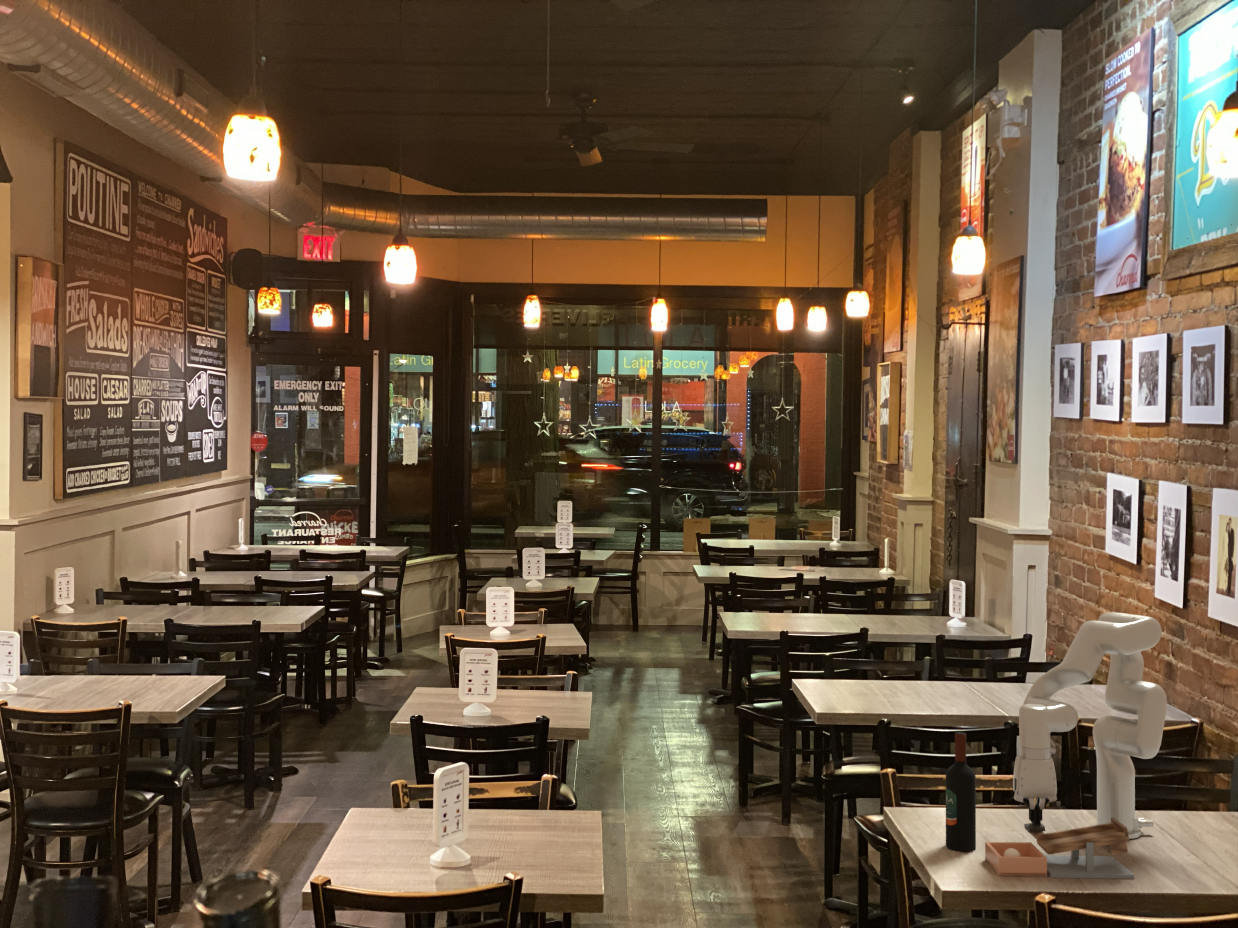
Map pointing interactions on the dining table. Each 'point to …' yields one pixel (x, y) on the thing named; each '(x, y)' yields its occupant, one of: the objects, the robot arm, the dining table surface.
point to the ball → (1011, 853)
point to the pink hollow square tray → (1016, 859)
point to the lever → (1082, 837)
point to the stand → (1086, 866)
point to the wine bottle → (960, 801)
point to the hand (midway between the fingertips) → (1035, 822)
